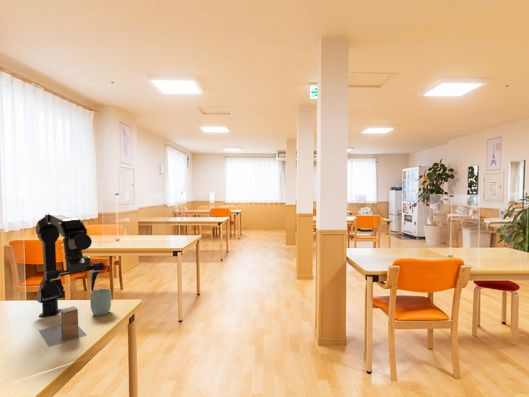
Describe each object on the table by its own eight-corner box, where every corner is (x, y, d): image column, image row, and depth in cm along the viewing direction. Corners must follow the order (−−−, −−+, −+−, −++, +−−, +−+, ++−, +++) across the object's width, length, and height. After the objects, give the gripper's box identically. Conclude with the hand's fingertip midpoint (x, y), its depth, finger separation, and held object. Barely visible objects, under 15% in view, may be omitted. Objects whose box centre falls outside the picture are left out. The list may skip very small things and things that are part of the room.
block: (61, 336, 121) (60, 309, 120) (75, 332, 124) (74, 305, 123) (64, 340, 117) (63, 312, 117) (78, 336, 120) (77, 309, 120)
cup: (103, 318, 137) (102, 294, 137) (86, 317, 139) (85, 293, 138) (115, 311, 145) (114, 288, 144) (99, 310, 146) (98, 288, 146)
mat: (38, 331, 126) (38, 330, 126) (73, 322, 134) (73, 321, 134) (48, 347, 113) (48, 346, 113) (87, 336, 121) (87, 335, 121)
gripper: (44, 256, 112) (49, 302, 110) (104, 246, 123) (110, 289, 121) (43, 257, 120) (47, 300, 119) (99, 248, 132) (104, 287, 130)
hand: (78, 294), depth 122 cm, fingers open, 9 cm apart
